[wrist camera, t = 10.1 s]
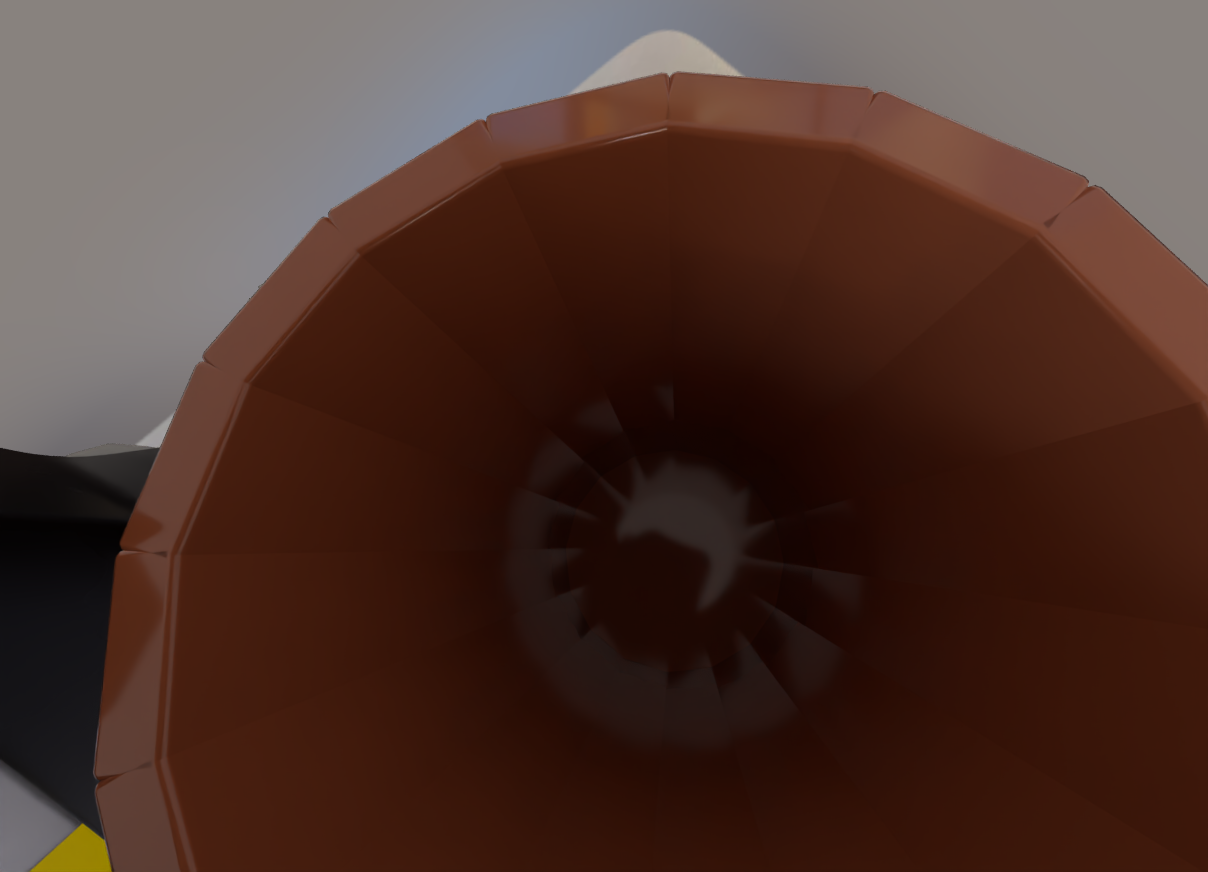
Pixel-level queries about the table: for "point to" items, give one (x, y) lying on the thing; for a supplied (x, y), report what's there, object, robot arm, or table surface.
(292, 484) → the pot
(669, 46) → the table surface
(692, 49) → the table surface
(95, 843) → the element tile
